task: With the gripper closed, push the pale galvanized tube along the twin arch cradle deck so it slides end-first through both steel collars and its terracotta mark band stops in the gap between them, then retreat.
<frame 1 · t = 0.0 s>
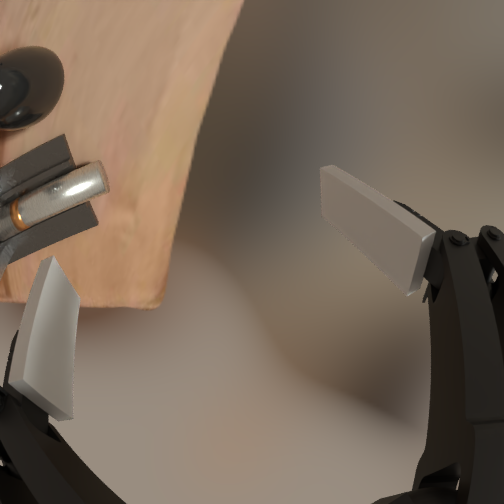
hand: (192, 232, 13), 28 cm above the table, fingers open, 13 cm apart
black tall rounded dome: (37, 86, 24), on the table
tube: (49, 195, 32), point 1 cm above the table, touching twin arch cradle
twin arch cradle: (11, 213, 31), on the table
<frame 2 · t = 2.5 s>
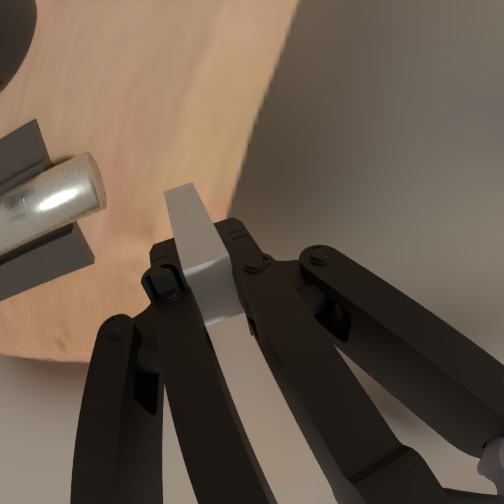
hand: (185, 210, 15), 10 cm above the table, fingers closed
tube: (16, 220, 18), point 1 cm above the table, tilted 21°, touching twin arch cradle
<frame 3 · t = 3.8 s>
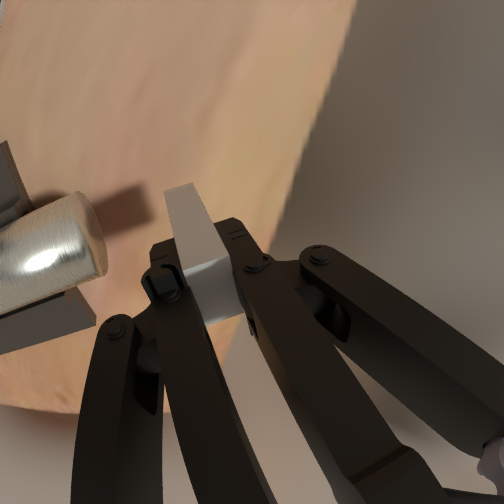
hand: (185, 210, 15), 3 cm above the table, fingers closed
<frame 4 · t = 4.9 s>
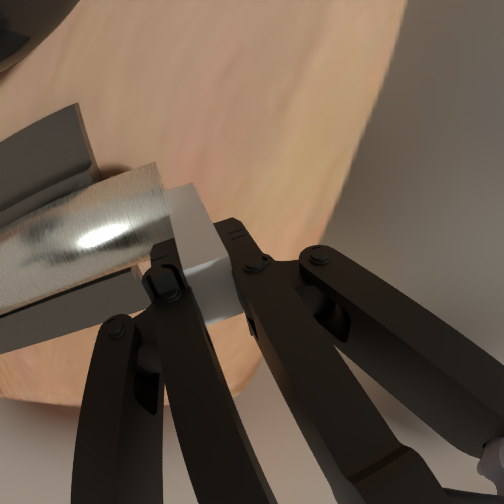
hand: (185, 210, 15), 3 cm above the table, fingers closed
tube: (35, 254, 14), point 1 cm above the table, tilted 21°, touching twin arch cradle, gripper
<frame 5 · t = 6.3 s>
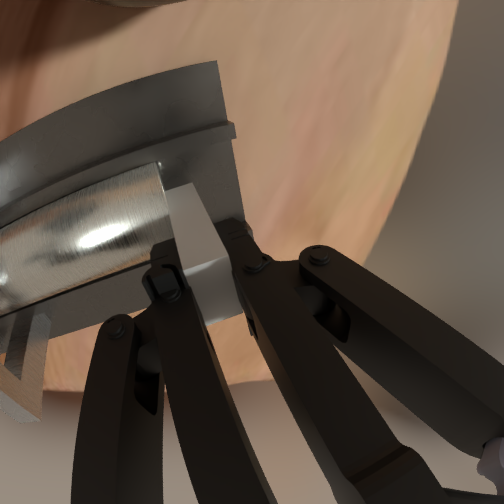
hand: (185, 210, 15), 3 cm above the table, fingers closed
tube: (35, 254, 14), point 1 cm above the table, tilted 21°, touching gripper
twin arch cradle: (41, 242, 15), on the table
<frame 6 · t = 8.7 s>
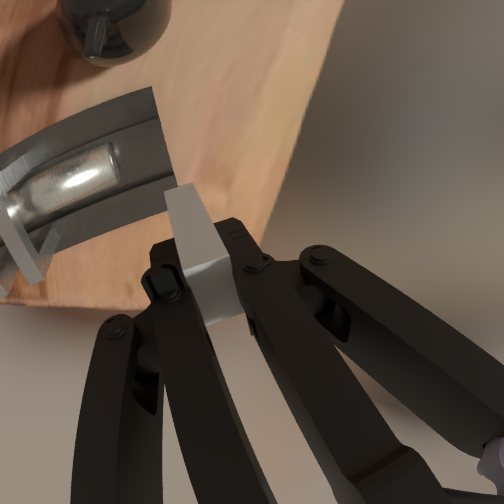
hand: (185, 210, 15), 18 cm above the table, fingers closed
black tall rounded dome: (118, 26, 20), on the table
tube: (46, 196, 26), point 1 cm above the table, tilted 23°, touching twin arch cradle
twin arch cradle: (60, 187, 27), on the table
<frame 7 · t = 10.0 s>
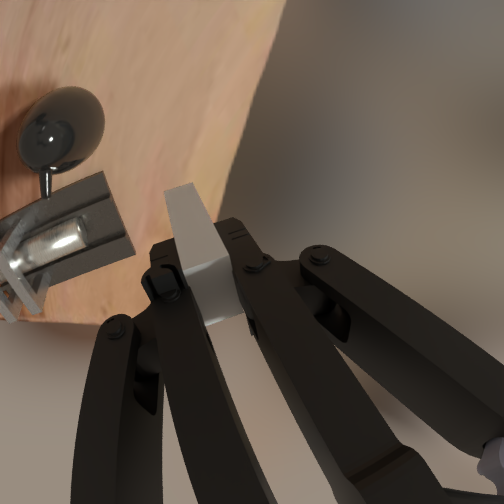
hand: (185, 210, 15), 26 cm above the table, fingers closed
black tall rounded dome: (72, 123, 30), on the table
tube: (39, 250, 36), point 1 cm above the table, tilted 23°, touching twin arch cradle
twin arch cradle: (48, 242, 37), on the table
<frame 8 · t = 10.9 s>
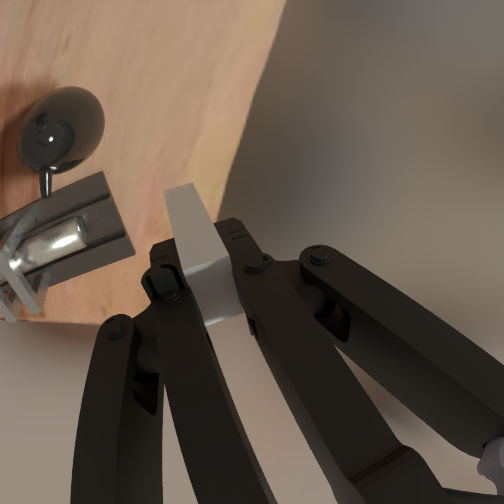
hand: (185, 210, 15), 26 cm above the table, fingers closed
black tall rounded dome: (72, 123, 30), on the table
tube: (39, 249, 36), point 1 cm above the table, tilted 23°, touching twin arch cradle
twin arch cradle: (48, 242, 37), on the table
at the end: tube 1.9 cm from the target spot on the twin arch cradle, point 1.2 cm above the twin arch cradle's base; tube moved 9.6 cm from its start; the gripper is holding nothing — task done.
